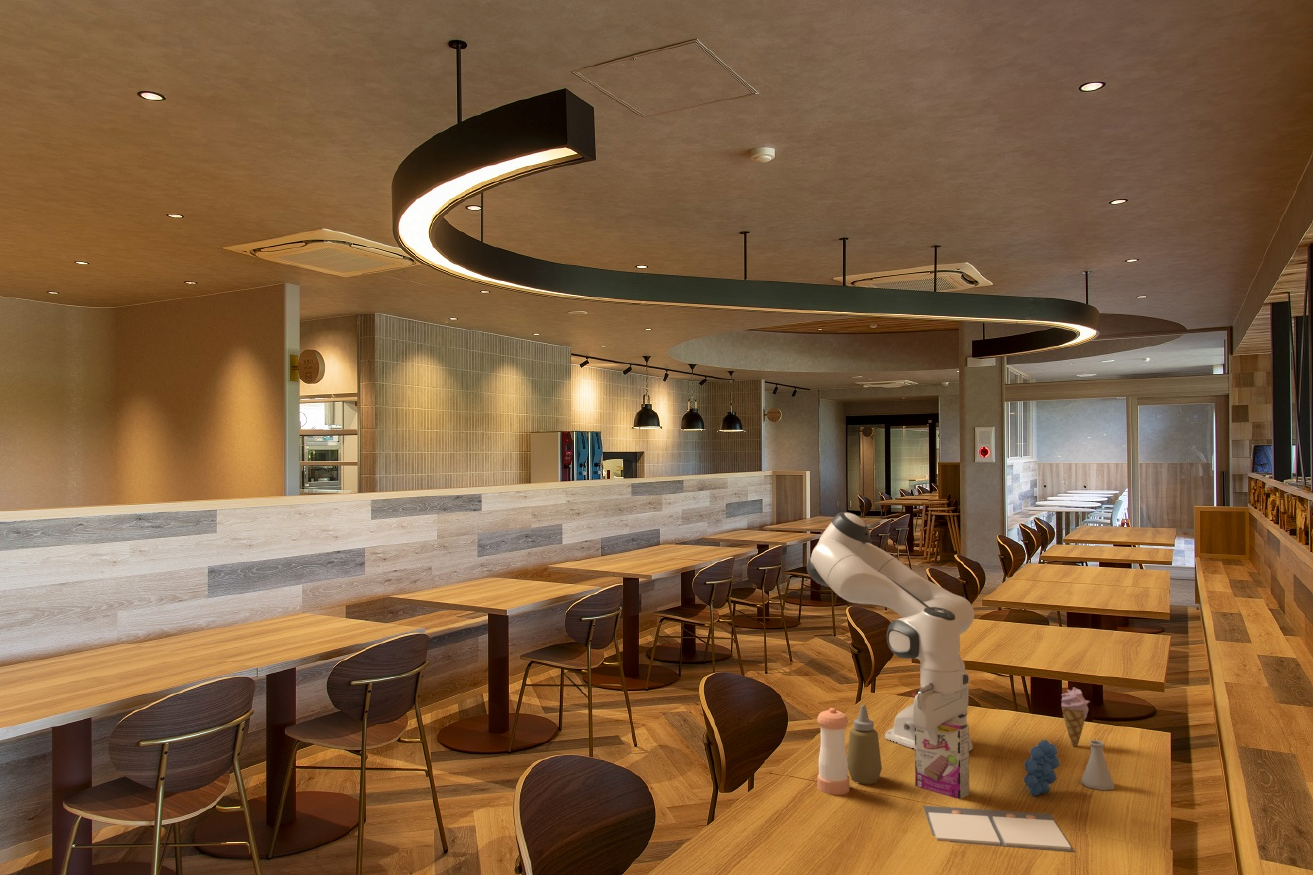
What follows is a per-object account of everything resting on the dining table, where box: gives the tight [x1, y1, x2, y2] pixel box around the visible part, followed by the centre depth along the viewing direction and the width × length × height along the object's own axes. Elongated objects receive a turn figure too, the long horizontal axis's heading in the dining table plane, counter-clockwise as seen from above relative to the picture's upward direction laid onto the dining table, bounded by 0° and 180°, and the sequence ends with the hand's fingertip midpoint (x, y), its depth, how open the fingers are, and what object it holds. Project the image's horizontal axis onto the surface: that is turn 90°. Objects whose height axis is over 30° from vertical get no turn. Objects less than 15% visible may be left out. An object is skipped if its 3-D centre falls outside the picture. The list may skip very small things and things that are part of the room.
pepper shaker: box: [816, 707, 850, 796], centre depth 195 cm, size 7×7×19 cm
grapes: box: [1023, 739, 1061, 797], centre depth 193 cm, size 12×7×12 cm, turn 123°
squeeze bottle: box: [847, 704, 883, 785], centre depth 200 cm, size 8×8×18 cm
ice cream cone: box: [1060, 687, 1091, 747], centre depth 223 cm, size 7×6×15 cm
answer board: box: [923, 805, 1075, 853], centre depth 174 cm, size 26×17×1 cm, turn 80°
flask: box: [1080, 739, 1115, 791], centre depth 197 cm, size 7×7×10 cm
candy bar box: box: [914, 720, 970, 800], centre depth 194 cm, size 11×5×16 cm, turn 45°
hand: (941, 740), depth 194 cm, fingers closed on candy bar box, 5 cm apart
